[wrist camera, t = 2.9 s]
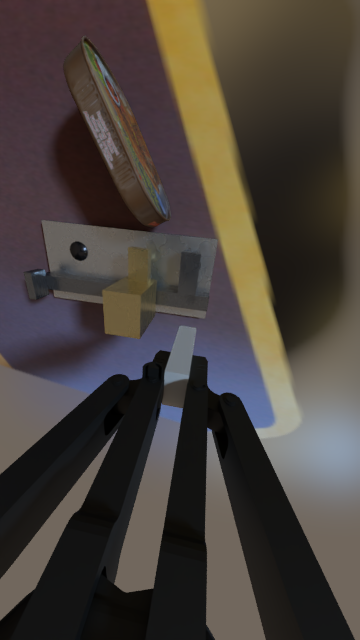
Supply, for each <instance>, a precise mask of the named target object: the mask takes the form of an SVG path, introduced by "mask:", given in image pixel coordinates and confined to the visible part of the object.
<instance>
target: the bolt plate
mask: <svg viewBox="0 0 360 640" xmlns="http://www.w3.org/2000/svg"><path fill="white" fill-rule="evenodd" d="M42 226H43V232H44V238H45V244H46V250H47V256H48V261H49V267H50V272H57V273H64V274H72V275H79V276H87V277H94V278H102V279H109V280H117V281H119V280H121V279H123V278H125V277H126V276H128V247H132V246H133V247H142V248H150V249H151V275H150V279H153V280H157V286H162V287H169V288H177V289H178V283H179V272H180V262H181V252H182V251H191V252H199V253H201V260H200V268H199V275H198V282H197V290H196V291H199V292H207V293H209V290H210V284H211V278H212V272H213V266H214V260H215V254H216V248H217V242H218V239H209V238H200V237H191V236H182V235H173V234H164V233H155V232H146V231H137V230H128V229H119V228H110V227H101V226H92V225H83V224H74V223H65V222H56V221H47V220H42ZM53 291H54V297H59V298H66V299H73V300H80V301H87V302H94V303H101V304H103V297H100V296H93V295H86V294H78V293H71V292H64V291H57V290H53ZM155 311H156V312H163V313H170V314H177V315H184V316H191V317H198V318H205V315H206V311H199V310H192V309H185V308H178V307H171V306H164V305H156V309H155Z"/></svg>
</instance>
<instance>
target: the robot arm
mask: <svg viewBox="0 0 360 640" xmlns="http://www.w3.org/2000/svg"><path fill="white" fill-rule="evenodd" d="M195 334H196V328H192V327H185V326H180V327H179V330H178V333H177V336H176V339H175V342H174V345H173V348H172V351H171V352H167V351H161V350H160V351H159V352H158V353H156V355H155V357H154V359H153V362H149V363H146V364H145V365H144V366H143V377H142V378H141V379H138V380H129V378H128V377H127V376H126V375H122V374H116V375H113V376H111V377H110V378H108V379H107V380H106V381H105V382H104V383H103V384H102V385H101V386H99V387H98V388H97V389H96V390H95V391H94V392H93V393H92V394H90V395H89V396H88V397H87V398H86V399H85V400H84V401H83V402H82V403H80V404H79V405H78V406H77V407H76V408H75V409H74V410H73V411H71V412H70V413H69V414H68V415H67V416H66V417H64V418H63V419H62V420H61V421H60V422H59V423H58V424H57V425H55V426H54V427H53V428H52V429H51V430H50V431H49V432H48V433H47V434H45V435H44V436H43V437H42V438H41V439H40V440H39V441H38V442H36V443H35V444H34V445H33V446H32V447H31V448H30V449H28V450H27V451H26V452H25V453H24V454H23V455H22V456H21V457H19V458H18V459H17V460H16V461H15V462H14V463H13V464H12V465H10V466H9V467H8V468H7V469H6V470H5V471H4V472H3V473H1V474H0V578H1V577H2V576H3V575H4V574H5V573H6V571H7V570H8V569H9V568H10V566H11V565H12V564H13V563H14V561H15V560H16V559H17V557H18V556H19V555H20V554H21V552H22V551H23V550H24V548H25V547H26V546H27V545H28V543H29V542H30V541H31V540H32V538H33V537H34V536H35V534H36V533H37V532H38V531H39V529H40V528H41V527H42V525H43V524H44V523H45V522H46V520H47V519H48V518H49V516H50V515H51V514H52V513H53V511H54V510H55V509H56V507H57V506H58V505H59V504H60V502H61V501H62V500H63V498H64V497H65V496H66V495H67V493H68V492H69V491H70V490H71V488H72V487H73V486H74V484H75V483H76V482H77V481H78V479H79V478H80V477H81V475H82V474H83V473H84V472H85V470H86V469H87V468H88V466H89V465H90V464H91V462H92V461H93V460H94V458H95V457H96V456H97V455H98V453H99V452H100V451H101V450H102V448H103V447H104V446H105V445H106V443H107V442H108V441H109V439H110V438H111V437H112V436H113V434H114V433H115V432H116V430H117V429H118V431H117V433H116V435H115V437H114V439H113V441H112V443H111V445H110V447H109V450H108V452H107V454H106V456H105V458H104V460H103V463H102V465H101V467H100V469H99V471H98V473H97V475H96V478H95V479H94V482H93V484H92V486H91V488H90V490H89V492H88V494H87V497H86V499H85V501H84V503H83V505H82V507H81V508H80V510H79V511H77V512H76V513H74V514H73V516H72V517H71V518H70V520H69V522H68V524H67V525H66V527H65V529H64V531H63V533H62V535H61V537H60V539H59V541H58V543H57V546H56V548H55V550H54V552H53V554H52V556H51V558H50V560H49V562H48V564H47V566H46V568H45V570H44V572H43V574H42V576H41V578H40V580H39V582H38V585H37V586H36V588H35V589H34V590H33V591H32V592H31V593H29V594H28V595H27V596H26V597H25V598H24V599H23V600H22V601H20V602H19V603H18V604H17V605H16V606H15V607H14V608H13V609H12V610H11V611H10V612H9V613H8V614H7V615H6V616H5V617H4V618H3V619H2V620H1V621H0V640H215V639H214V637H213V635H212V633H211V632H210V630H209V628H208V627H207V625H206V584H207V549H206V543H205V502H206V457H207V428H209V429H211V430H212V434H213V438H214V442H215V445H216V449H217V453H218V457H219V461H220V465H221V469H222V472H223V476H224V480H225V484H226V488H227V491H228V496H229V499H230V503H231V507H232V511H233V515H234V519H235V522H236V526H237V530H238V534H239V538H240V542H241V546H242V549H243V553H244V557H245V561H246V564H247V568H248V572H249V576H250V580H251V584H252V588H253V592H254V595H255V599H256V603H257V607H258V611H259V615H260V618H261V622H262V626H263V630H264V634H265V638H266V640H355V639H354V637H353V635H352V633H351V630H350V628H349V626H348V624H347V622H346V620H345V618H344V616H343V614H342V612H341V609H340V607H339V606H338V603H337V601H336V599H335V597H334V595H333V593H332V591H331V588H330V587H329V584H328V582H327V580H326V578H325V576H324V574H323V572H322V569H321V567H320V565H319V563H318V561H317V559H316V557H315V555H314V553H313V551H312V548H311V546H310V544H309V542H308V540H307V538H306V536H305V534H304V532H303V530H302V527H301V525H300V523H299V521H298V519H297V517H296V515H295V513H294V511H293V509H292V506H291V504H290V502H289V500H288V498H287V496H286V494H285V492H284V490H283V487H282V485H281V483H280V481H279V479H278V477H277V475H276V473H275V471H274V469H273V466H272V464H271V462H270V460H269V458H268V456H267V454H266V452H265V450H264V447H263V445H262V443H261V441H260V439H259V437H258V435H257V433H256V431H255V429H254V426H253V424H252V422H251V420H250V418H249V416H248V414H247V412H246V410H245V408H244V405H243V403H242V401H241V400H240V398H239V397H237V396H236V395H234V394H232V393H223V394H221V395H217V394H215V393H213V392H212V391H211V390H210V389H209V388H208V386H207V368H208V367H207V366H208V361H207V360H206V358H205V357H201V356H194V355H193V348H194V341H195ZM161 403H162V404H163V405H168V406H174V407H179V408H183V412H182V418H181V425H180V431H179V437H178V444H177V449H176V455H175V462H174V468H173V474H172V480H171V486H170V493H169V498H168V505H167V511H166V517H165V523H164V529H163V534H162V541H161V546H160V553H159V558H158V565H157V571H156V577H155V583H154V589H148V590H142V591H135V592H129V593H126V592H123V591H122V590H120V589H119V588H118V587H117V586H116V585H114V582H115V578H116V574H117V569H118V564H119V558H120V553H121V550H122V546H123V542H124V539H125V535H126V532H127V528H128V525H129V521H130V518H131V514H132V510H133V507H134V503H135V500H136V496H137V492H138V489H139V485H140V482H141V478H142V475H143V471H144V468H145V464H146V460H147V457H148V453H149V450H150V446H151V443H152V439H153V436H154V432H155V428H156V425H157V421H158V418H159V414H160V410H161Z"/></svg>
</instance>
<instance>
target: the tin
mask: <svg viewBox="0 0 360 640" xmlns="http://www.w3.org/2000/svg"><path fill="white" fill-rule="evenodd" d="M64 74H65V78H66V81H67V84H68V87H69V89H70V92H71V94H72V97H73V99H74V101H75V103H76V105H77V107H78V109H79V111H80V114H81V116H82V118H83V120H84V122H85V124H86V126H87V128H88V130H89V132H90V135H91V137H92V139H93V141H94V143H95V145H96V147H97V149H98V151H99V153H100V155H101V157H102V159H103V162H104V164H105V166H106V168H107V170H108V172H109V174H110V176H111V178H112V180H113V182H114V184H115V186H116V188H117V190H118V192H119V194H120V196H121V197H122V199H123V201H124V202H125V204H126V205H127V207H128V209H129V210H130V211H131V213H132V214H133V215H134V216H135V217H136V219H137V220H138V221H139V222H140V223H142V224H143V225H145V226H148V227H155V226H157V225H159V224H161V223H163V222H165V221H169V220H170V218H171V212H170V206H169V202H168V199H167V196H166V193H165V191H164V188H163V185H162V183H161V181H160V178H159V176H158V173H157V171H156V168H155V166H154V164H153V161H152V159H151V156H150V154H149V151H148V149H147V146H146V144H145V141H144V139H143V136H142V134H141V132H140V129H139V127H138V124H137V122H136V119H135V117H134V115H133V113H132V110H131V108H130V106H129V104H128V102H127V100H126V98H125V96H124V94H123V92H122V90H121V88H120V86H119V84H118V82H117V80H116V79H115V77H114V75H113V73H112V72H111V70H110V68H109V67H108V65H107V63H106V62H105V60H104V59H103V57H102V55H101V54H100V52H99V51H98V49H97V48H96V47H95V45H94V44H93V43H92V42H91V40H89V38H87V37H86V36H83V37H82V39H81V42H80V43H79V44H78V45H77V46H76V47H75V48H74V49H73V50H72V51H71V53H70V54H69V55H68V56H67V57H66V59H65V61H64Z"/></svg>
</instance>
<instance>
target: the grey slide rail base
mask: <svg viewBox="0 0 360 640" xmlns="http://www.w3.org/2000/svg"><path fill="white" fill-rule="evenodd" d="M200 260H201V253H199V252H191V251H182V252H181V262H180V272H179V283H178V289H177V288H169V287H162V286H157V289H156V305H164V306H171V307H178V308H185V309H192V310H199V311H206V312H207V307H208V301H209V293H207V292H199V291H196V290H197V282H198V275H199V268H200ZM24 276H25V281H26V285H27V289H28V294H29V298H30V299H35V300H37V299H39V298H42V297H44V296H47V295H49V291H48V289H50V290H57V291H64V292H71V293H78V294H86V295H93V296H100V297H103V295H102V290H103V289H105V288H107V287H109V286H110V285H112V284H114V283H116V282H118V281H117V280H109V279H102V278H94V277H87V276H79V275H72V274H64V273H57V272H47V273H45V270H43V269H35V270H31V271H26V272H24Z"/></svg>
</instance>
